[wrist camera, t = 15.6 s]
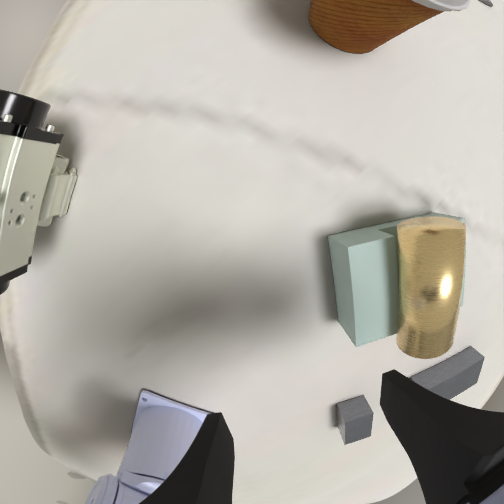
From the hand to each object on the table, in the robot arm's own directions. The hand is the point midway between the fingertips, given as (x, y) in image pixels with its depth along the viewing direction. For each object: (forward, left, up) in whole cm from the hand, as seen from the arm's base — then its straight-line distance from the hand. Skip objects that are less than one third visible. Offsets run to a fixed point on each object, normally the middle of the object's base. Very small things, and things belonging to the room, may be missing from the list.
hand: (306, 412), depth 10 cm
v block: (+7, -7, -10) cm, 14 cm away
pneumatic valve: (+3, +20, -11) cm, 22 cm away
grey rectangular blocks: (-4, -18, -10) cm, 21 cm away
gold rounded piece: (+7, -7, -5) cm, 11 cm away
